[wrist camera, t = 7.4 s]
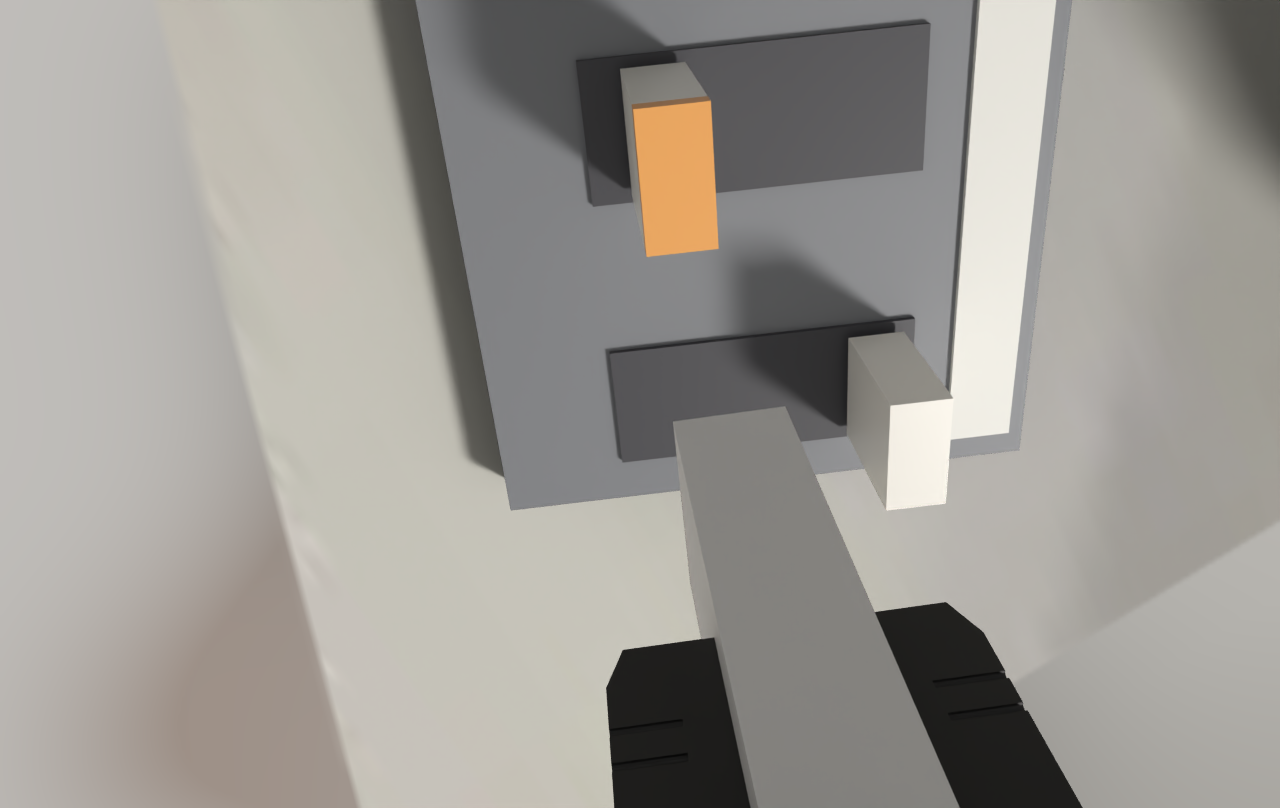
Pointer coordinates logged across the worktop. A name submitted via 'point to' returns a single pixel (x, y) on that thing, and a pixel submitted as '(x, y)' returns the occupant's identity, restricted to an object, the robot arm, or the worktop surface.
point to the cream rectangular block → (898, 420)
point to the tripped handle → (670, 158)
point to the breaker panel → (745, 218)
